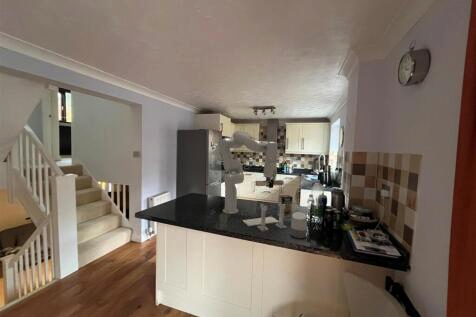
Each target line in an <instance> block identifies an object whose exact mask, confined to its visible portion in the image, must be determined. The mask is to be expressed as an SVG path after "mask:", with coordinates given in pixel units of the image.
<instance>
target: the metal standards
mask: <svg viewBox="0 0 476 317" xmlns="http://www.w3.org/2000/svg"><path fill="white" fill-rule="evenodd" d="M285 206H286V204H282V202H277V208H278V207H280V213H279V216H278V221H279V222H276V223H275V226H276V227H278V228H279V229H285V228H288V226H287V225H286V224H285V223H284V219H285V218H284V209H285ZM259 207H260V209H261V215H260V216H261V217H260V218H261V225H256V226H257V229H258V230H259V231H261V232H264V231H269V228H268V227H267V226H266V224H265V217H266V214H267V213H266V212H267V211H268V205H265V203H260V206H259Z"/></svg>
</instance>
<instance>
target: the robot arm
mask: <svg viewBox="0 0 476 317" xmlns="http://www.w3.org/2000/svg"><path fill="white" fill-rule="evenodd" d="M242 146H244V147H246V149H248V150H249V151H253V152H256V153H265V157H264V158H265V161H264V165H263V176H264V177H265V181H266V180H270V182H269V186H265V187H266V188H269V189H273V188H274V186H273V184H274V180H277V173H278V170H277V168H278V166H277V165H278V164H277V161H278V160H277V159H278V142H276V141H267V140H266V141H265V140H256V139H253V136H252V135H250V134H249V132H247V131H241V130H238V131H235V132H233V133H232V137H224V138H222V139H221V140H220V142H219V150H220V153H221V154H220V155H221V158H222V164H223V168H224V171H226V172H229V173H226V174H225V175H224V177H223V180H224V195H225V196H224V208H223V209H222V212H223V213H225V214H228V215H229V214H230V215H231V214H237V213H239V209H238V208H237V205H238V204H237V195H238V189H237V186H236V185H239V184H242V183H244V180H245V174H244V169H243V163H242V162H241V161H240V160H238V159H234V157H233V153H232V151H231V150H230V149H240V148H242Z"/></svg>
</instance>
